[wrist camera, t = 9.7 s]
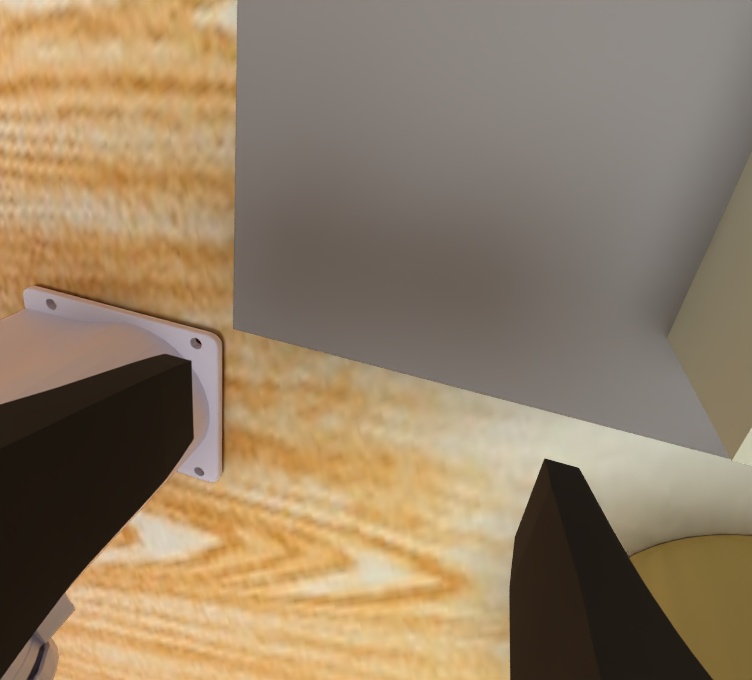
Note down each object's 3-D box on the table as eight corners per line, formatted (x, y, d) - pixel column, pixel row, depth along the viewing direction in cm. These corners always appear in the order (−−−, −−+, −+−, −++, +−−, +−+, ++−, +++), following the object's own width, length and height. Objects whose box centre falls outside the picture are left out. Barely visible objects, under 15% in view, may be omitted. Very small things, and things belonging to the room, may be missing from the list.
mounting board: (248, 316, 21) (233, 328, 20) (266, -348, 13) (242, -387, 12) (852, 471, 17) (873, 496, 16) (1443, -319, 9) (1561, -371, 8)
